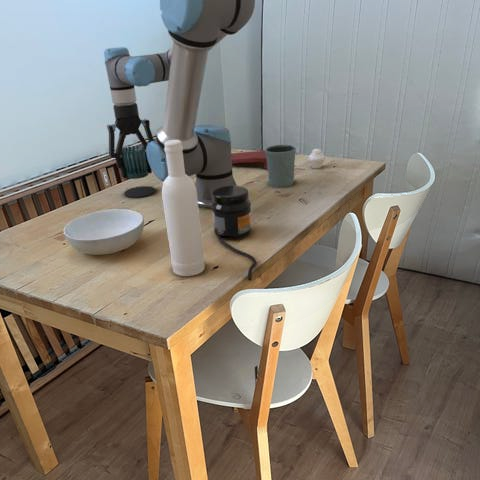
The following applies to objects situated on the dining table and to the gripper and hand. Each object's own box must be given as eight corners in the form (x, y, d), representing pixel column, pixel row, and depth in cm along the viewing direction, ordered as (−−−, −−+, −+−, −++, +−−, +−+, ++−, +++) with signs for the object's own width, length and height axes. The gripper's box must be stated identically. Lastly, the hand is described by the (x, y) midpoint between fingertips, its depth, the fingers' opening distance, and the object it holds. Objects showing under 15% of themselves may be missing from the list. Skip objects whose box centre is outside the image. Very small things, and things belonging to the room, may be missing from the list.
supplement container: (260, 232, 135) (258, 189, 128) (233, 244, 129) (230, 200, 122) (233, 223, 141) (230, 182, 134) (206, 234, 135) (202, 192, 128)
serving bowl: (82, 233, 141) (77, 210, 137) (153, 230, 140) (150, 207, 136) (58, 265, 124) (51, 240, 120) (139, 262, 123) (134, 237, 119)
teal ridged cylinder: (120, 175, 168) (142, 170, 171) (130, 180, 162) (153, 175, 166) (115, 148, 163) (137, 143, 167) (125, 153, 157) (149, 148, 161)
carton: (212, 173, 196) (266, 170, 182) (210, 161, 193) (264, 157, 180) (228, 165, 204) (281, 161, 191) (226, 153, 202) (279, 149, 189)
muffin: (306, 165, 185) (307, 147, 182) (322, 164, 186) (323, 145, 182) (310, 170, 180) (310, 151, 176) (326, 169, 181) (327, 149, 177)
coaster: (160, 193, 167) (159, 192, 167) (130, 200, 163) (129, 198, 163) (149, 185, 175) (149, 184, 175) (120, 191, 171) (120, 190, 171)
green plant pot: (301, 183, 168) (301, 148, 161) (278, 190, 163) (277, 153, 157) (283, 177, 175) (282, 142, 168) (260, 183, 171) (259, 148, 164)
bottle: (173, 263, 121) (155, 138, 105) (204, 260, 121) (191, 135, 105) (172, 278, 114) (152, 147, 98) (205, 275, 115) (191, 144, 98)
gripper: (152, 97, 160) (162, 166, 173) (88, 106, 152) (103, 178, 165) (160, 100, 155) (169, 171, 167) (94, 109, 147) (109, 183, 159)
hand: (137, 174), depth 166 cm, fingers closed on teal ridged cylinder, 8 cm apart
